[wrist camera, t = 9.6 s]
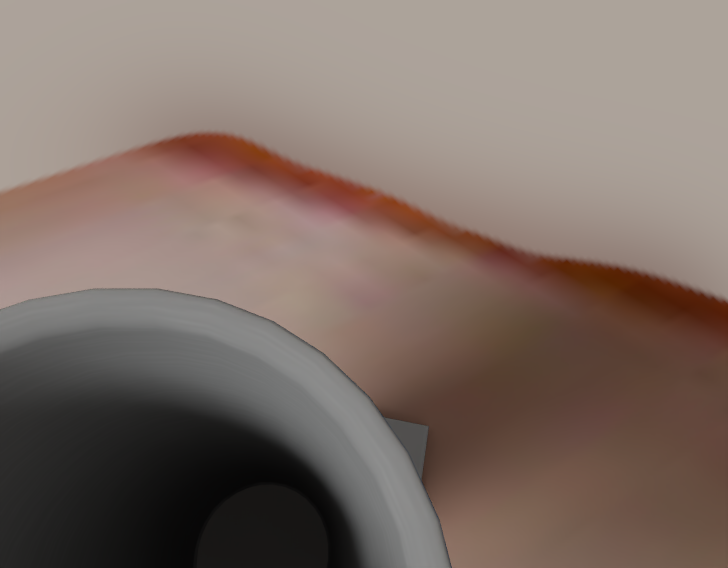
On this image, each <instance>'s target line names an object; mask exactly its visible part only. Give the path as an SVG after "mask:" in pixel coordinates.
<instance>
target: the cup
mask: <svg viewBox="0 0 728 568" xmlns="http://www.w3.org/2000/svg"><path fill="white" fill-rule="evenodd" d="M0 568H452V567H451V563H450V559H449V555H448V551H447V547H446V543H445V540H444V536H443V532H442V528H441V524H440V520H439V518H438V516H437V514H436V511H435V509H434V507H433V505H432V503H431V500H430V498H429V496H428V494H427V492H426V490H425V487H424V485H423V483H422V481H421V479H420V476H419V474H418V472H417V470H416V468H415V465H414V463H413V461H412V459H411V457H410V455H409V452H408V451H407V450H406V448H405V447H404V445H403V444H402V443H401V441H400V440H399V438H398V437H397V435H396V434H395V433H394V431H393V430H392V428H391V427H390V425H389V424H388V423H387V421H386V420H385V418H384V417H383V416H382V414H381V413H380V411H379V410H378V408H377V407H376V406H375V404H374V403H373V401H372V400H371V399H370V397H369V396H368V395H367V394H366V393H365V392H364V391H363V390H361V389H360V388H359V387H358V386H357V385H356V384H355V383H354V382H353V381H352V380H351V379H350V378H349V377H348V376H347V375H346V374H345V373H344V372H343V371H342V370H341V369H340V368H339V367H337V366H336V365H335V364H334V363H333V362H332V361H331V360H330V359H329V358H328V357H327V356H326V355H325V354H324V353H322V352H321V351H319V350H318V349H316V348H314V347H313V346H311V345H310V344H308V343H307V342H305V341H303V340H302V339H300V338H299V337H297V336H296V335H294V334H292V333H291V332H289V331H288V330H286V329H285V328H283V327H281V326H280V325H278V324H277V323H275V322H274V321H271V320H269V319H266V318H264V317H261V316H258V315H256V314H253V313H251V312H248V311H246V310H243V309H240V308H238V307H235V306H233V305H230V304H228V303H225V302H222V301H220V300H217V299H212V298H206V297H201V296H195V295H190V294H184V293H179V292H173V291H168V290H162V289H89V290H83V291H78V292H72V293H66V294H60V295H54V296H48V297H43V298H37V299H31V300H27V301H24V302H21V303H18V304H15V305H12V306H9V307H6V308H3V309H0Z"/></svg>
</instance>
